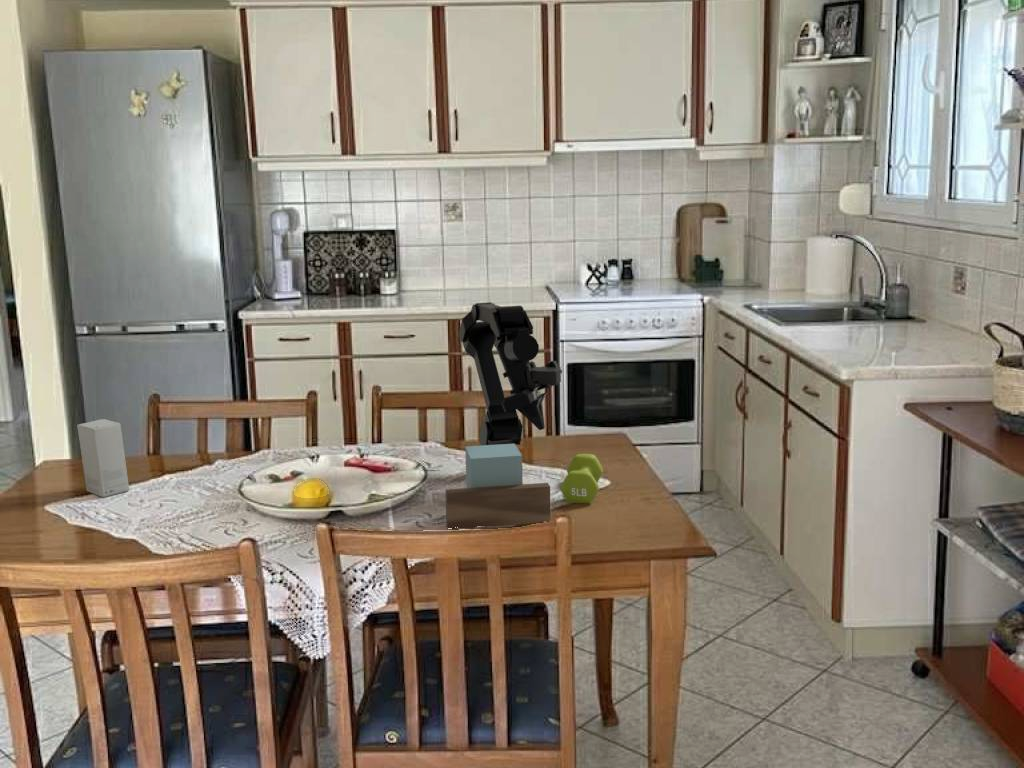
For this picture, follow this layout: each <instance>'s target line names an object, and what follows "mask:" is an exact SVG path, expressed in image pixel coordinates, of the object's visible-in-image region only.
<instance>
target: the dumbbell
mask: <svg viewBox="0 0 1024 768" xmlns="http://www.w3.org/2000/svg"><path fill="white" fill-rule="evenodd" d="M566 473H567V475H566V476H565V478H564V480H563V482H562V483H561V485H560V491H561V493H562V495H563V498H564V499H565V500H566V502H567V503H574V504H589V505H591V504H592V503H593V501H595V499H596V496H597V495H598V493H599V490H600V486H599V484H598V482H599V481H600V480H601V477H602V475H603V473H604V469H603V466H602V464H601V462H600V460H599V458H597V456H596V455H595V454H592V453H577V454H575V455H574V456H573V458H572V459H571V461H570V462H569V465H568V467H567V468H566Z"/></svg>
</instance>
